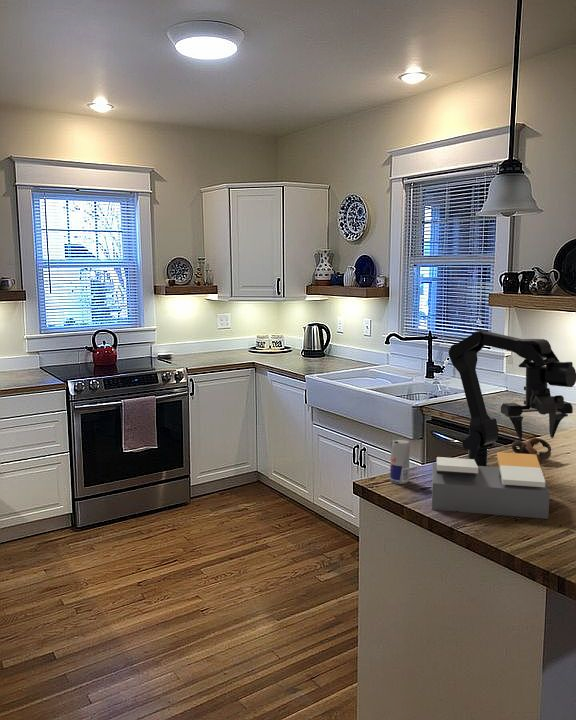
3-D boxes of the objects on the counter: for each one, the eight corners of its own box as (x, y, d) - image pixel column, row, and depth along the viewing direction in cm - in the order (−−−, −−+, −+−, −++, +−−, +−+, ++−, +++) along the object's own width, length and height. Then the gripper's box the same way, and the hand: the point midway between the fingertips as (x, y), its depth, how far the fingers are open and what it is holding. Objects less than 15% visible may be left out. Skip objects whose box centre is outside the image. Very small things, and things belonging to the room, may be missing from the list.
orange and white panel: (496, 456, 175) (497, 452, 175) (535, 459, 173) (536, 454, 173) (502, 484, 160) (502, 479, 160) (545, 487, 158) (545, 482, 158)
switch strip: (432, 486, 181) (433, 457, 180) (537, 494, 175) (538, 464, 174) (431, 509, 164) (433, 477, 163) (548, 518, 158) (550, 485, 157)
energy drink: (388, 478, 188) (389, 438, 187) (406, 478, 189) (407, 438, 187) (392, 484, 183) (393, 443, 181) (410, 484, 183) (412, 443, 182)
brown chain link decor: (543, 457, 212) (553, 439, 207) (544, 477, 204) (554, 459, 199) (507, 446, 213) (516, 428, 208) (506, 465, 206) (515, 447, 201)
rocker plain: (436, 461, 179) (436, 456, 179) (473, 464, 177) (473, 459, 177) (437, 470, 163) (437, 465, 163) (478, 473, 161) (478, 467, 161)
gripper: (516, 389, 172) (516, 446, 174) (583, 386, 173) (582, 443, 175) (500, 383, 183) (499, 437, 185) (563, 381, 185) (562, 434, 186)
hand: (536, 438), depth 182 cm, fingers open, 9 cm apart
